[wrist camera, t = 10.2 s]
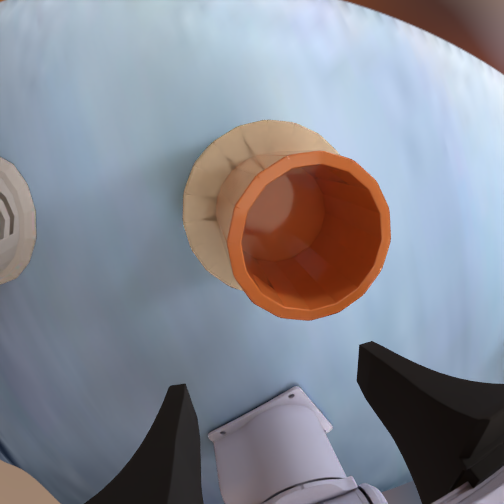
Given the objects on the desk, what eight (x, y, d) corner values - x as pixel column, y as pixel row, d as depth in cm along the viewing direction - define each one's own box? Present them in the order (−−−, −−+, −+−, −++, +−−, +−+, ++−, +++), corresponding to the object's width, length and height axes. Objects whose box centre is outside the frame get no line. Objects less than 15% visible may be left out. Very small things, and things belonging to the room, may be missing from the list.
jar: (233, 280, 22) (247, 324, 16) (160, 178, 19) (146, 187, 13) (333, 212, 22) (379, 234, 16) (271, 107, 19) (302, 89, 13)
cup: (255, 284, 15) (286, 348, 10) (192, 194, 14) (191, 218, 9) (344, 225, 15) (410, 259, 10) (291, 131, 14) (346, 120, 8)
